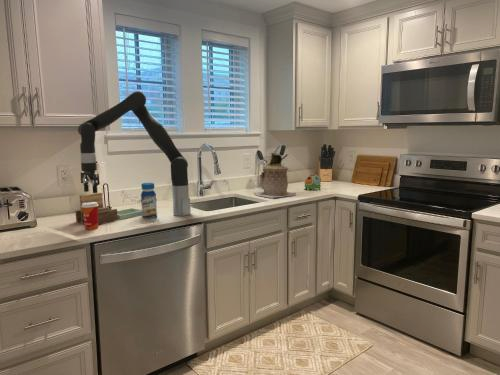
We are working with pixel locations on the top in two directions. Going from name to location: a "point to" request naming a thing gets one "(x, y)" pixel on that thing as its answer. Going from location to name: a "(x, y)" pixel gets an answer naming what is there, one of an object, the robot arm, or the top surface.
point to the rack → (99, 216)
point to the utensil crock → (274, 179)
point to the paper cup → (90, 215)
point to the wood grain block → (92, 199)
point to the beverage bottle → (148, 201)
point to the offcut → (102, 209)
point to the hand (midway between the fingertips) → (90, 192)
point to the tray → (129, 213)
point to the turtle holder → (312, 182)
